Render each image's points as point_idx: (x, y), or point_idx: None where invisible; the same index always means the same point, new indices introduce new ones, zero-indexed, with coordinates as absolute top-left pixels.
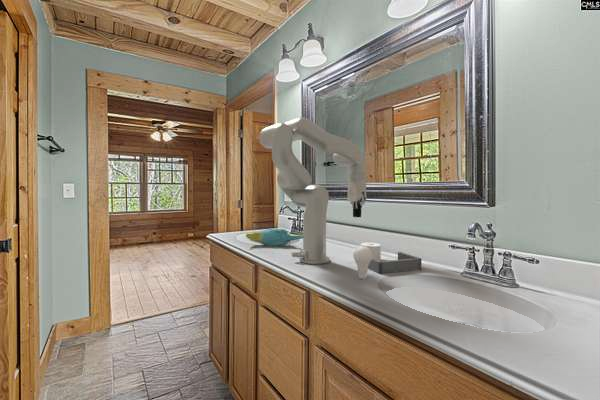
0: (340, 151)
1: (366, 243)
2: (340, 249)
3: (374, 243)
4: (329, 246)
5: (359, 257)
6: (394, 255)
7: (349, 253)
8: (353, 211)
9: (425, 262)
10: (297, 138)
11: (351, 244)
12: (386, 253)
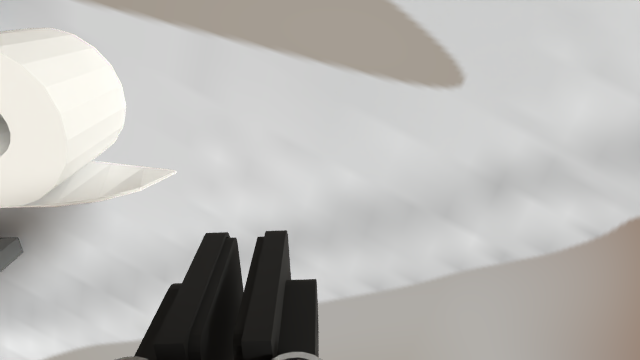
0: None
1: (26, 118)
2: (466, 59)
3: (25, 184)
4: (622, 18)
5: None
6: None
7: (306, 62)
8: (252, 289)
9: (5, 353)
10: None
11: (597, 228)
12: None
